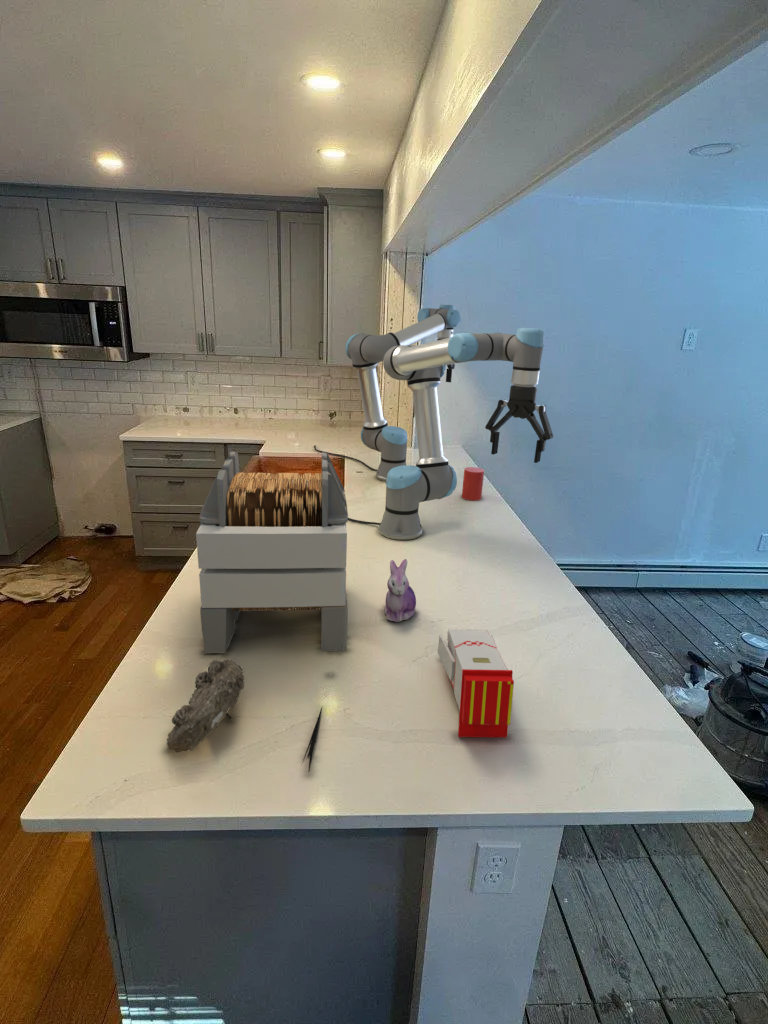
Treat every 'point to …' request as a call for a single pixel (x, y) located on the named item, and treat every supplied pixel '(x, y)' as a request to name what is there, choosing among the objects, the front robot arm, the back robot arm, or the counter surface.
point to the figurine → (399, 594)
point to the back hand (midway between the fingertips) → (441, 383)
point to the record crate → (273, 550)
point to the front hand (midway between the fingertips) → (515, 457)
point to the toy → (478, 682)
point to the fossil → (206, 705)
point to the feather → (313, 740)
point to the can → (472, 483)
